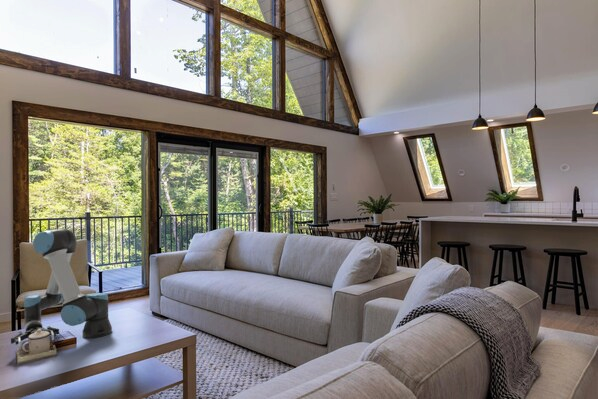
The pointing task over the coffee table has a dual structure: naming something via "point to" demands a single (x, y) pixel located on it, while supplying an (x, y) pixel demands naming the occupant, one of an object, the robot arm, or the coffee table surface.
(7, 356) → the coffee table surface
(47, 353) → the brass cradle
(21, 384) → the coffee table surface
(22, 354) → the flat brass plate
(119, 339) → the coffee table surface
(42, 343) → the teacup with lid
